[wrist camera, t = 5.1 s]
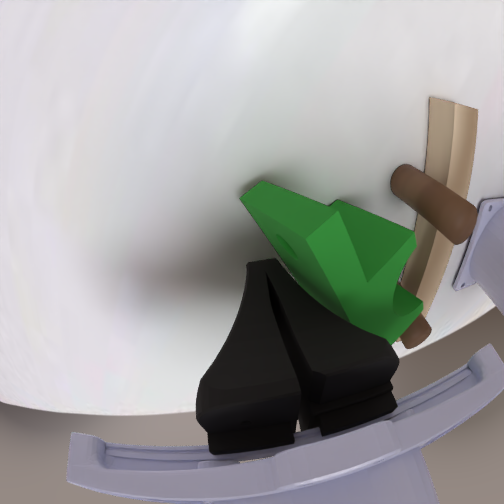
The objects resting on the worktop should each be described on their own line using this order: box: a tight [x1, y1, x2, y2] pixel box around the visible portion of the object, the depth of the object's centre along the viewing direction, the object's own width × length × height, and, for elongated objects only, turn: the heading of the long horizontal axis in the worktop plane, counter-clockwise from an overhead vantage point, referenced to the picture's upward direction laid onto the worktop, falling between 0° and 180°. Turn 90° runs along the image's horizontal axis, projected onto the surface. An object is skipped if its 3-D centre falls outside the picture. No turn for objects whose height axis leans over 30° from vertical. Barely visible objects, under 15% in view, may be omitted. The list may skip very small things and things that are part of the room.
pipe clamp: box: [239, 181, 424, 345], centre depth 11 cm, size 11×4×5 cm, turn 31°
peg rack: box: [391, 97, 478, 349], centre depth 12 cm, size 4×16×4 cm, turn 6°
